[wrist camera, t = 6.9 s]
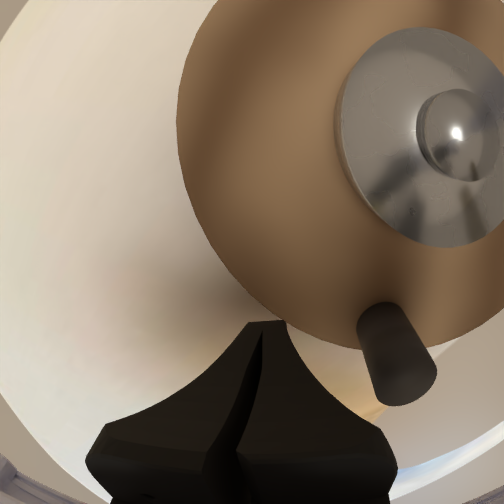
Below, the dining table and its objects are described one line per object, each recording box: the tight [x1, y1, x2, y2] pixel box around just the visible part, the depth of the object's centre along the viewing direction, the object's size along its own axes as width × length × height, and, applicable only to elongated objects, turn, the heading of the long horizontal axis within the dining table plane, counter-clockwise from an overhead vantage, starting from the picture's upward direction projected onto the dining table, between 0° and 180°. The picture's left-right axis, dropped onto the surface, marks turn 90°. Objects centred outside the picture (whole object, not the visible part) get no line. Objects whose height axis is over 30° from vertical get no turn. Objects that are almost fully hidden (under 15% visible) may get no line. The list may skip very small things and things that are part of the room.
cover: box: [333, 27, 504, 248], centre depth 9 cm, size 8×8×3 cm
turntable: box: [176, 0, 504, 406], centre depth 9 cm, size 20×20×5 cm
